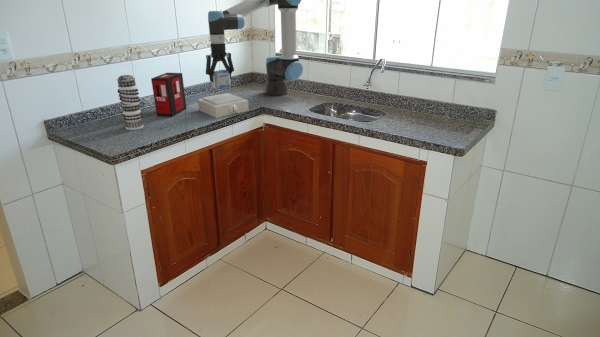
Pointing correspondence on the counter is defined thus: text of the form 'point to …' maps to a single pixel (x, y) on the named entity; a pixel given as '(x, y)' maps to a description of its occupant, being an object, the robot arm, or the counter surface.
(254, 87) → the counter surface
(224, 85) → the medicine box
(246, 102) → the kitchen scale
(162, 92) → the cleaning product box
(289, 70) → the robot arm
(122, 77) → the striped tower model
